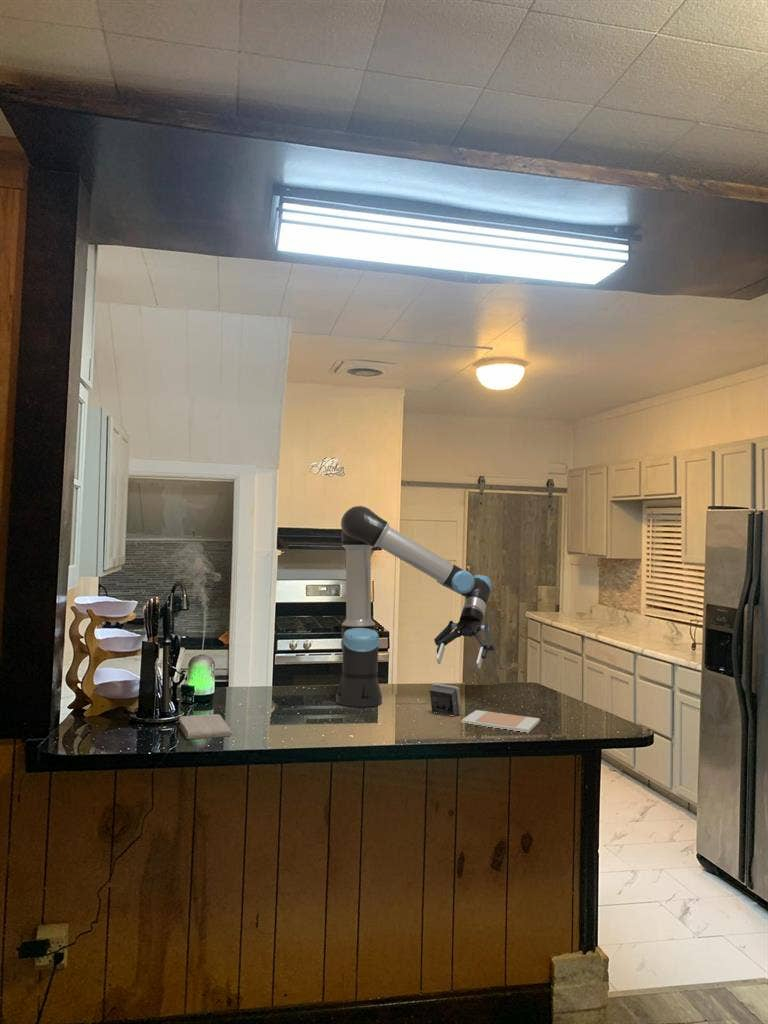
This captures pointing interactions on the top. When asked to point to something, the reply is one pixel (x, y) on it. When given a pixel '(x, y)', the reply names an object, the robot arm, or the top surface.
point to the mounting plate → (501, 721)
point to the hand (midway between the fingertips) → (457, 663)
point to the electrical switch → (445, 699)
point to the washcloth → (204, 726)
